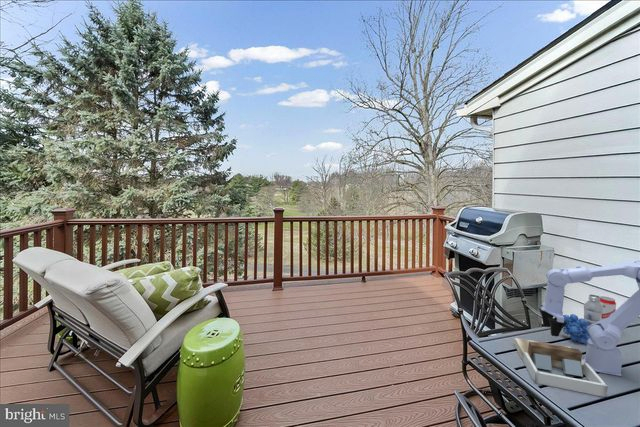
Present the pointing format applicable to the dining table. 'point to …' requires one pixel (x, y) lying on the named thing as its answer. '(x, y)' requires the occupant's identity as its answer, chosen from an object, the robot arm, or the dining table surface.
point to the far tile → (542, 361)
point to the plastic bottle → (592, 310)
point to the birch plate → (523, 347)
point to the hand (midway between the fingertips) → (550, 331)
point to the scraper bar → (554, 351)
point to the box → (568, 379)
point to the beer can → (607, 306)
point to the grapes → (576, 328)
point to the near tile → (572, 367)
